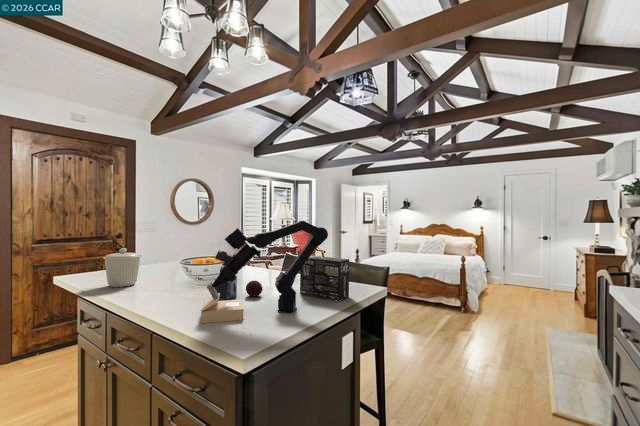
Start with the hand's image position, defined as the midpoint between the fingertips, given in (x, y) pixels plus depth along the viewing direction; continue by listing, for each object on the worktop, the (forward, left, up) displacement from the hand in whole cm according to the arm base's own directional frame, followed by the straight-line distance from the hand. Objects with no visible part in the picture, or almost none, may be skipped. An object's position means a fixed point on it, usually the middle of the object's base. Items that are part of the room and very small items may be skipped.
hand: (212, 286), depth 118 cm
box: (-35, -42, -12) cm, 56 cm away
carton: (-4, -2, -12) cm, 12 cm away
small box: (+8, -23, -12) cm, 27 cm away
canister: (+80, -33, -12) cm, 88 cm away
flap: (0, 0, -6) cm, 6 cm away
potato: (-2, -32, -12) cm, 34 cm away
